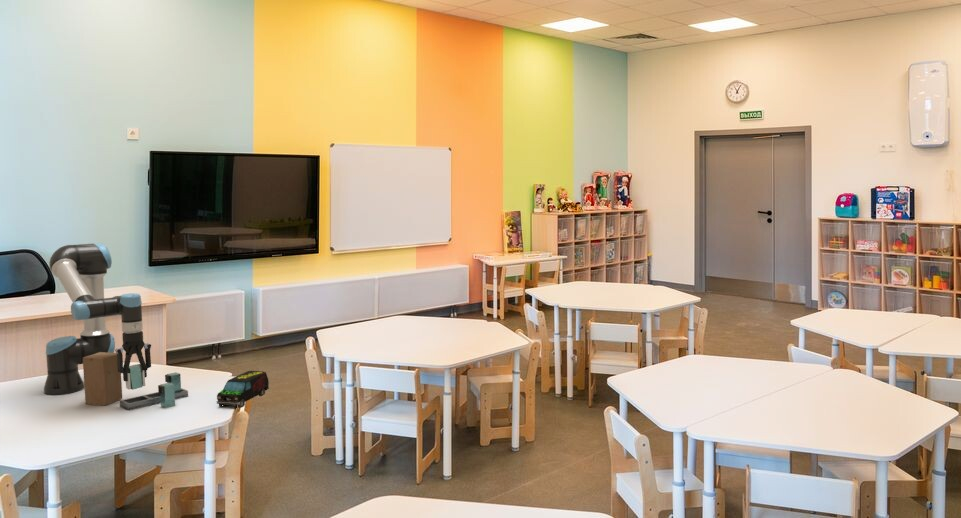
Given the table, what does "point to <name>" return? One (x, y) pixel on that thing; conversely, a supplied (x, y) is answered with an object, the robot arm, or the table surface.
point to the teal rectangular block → (135, 376)
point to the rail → (155, 394)
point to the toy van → (243, 388)
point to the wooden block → (102, 379)
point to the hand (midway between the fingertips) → (135, 386)
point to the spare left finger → (167, 394)
